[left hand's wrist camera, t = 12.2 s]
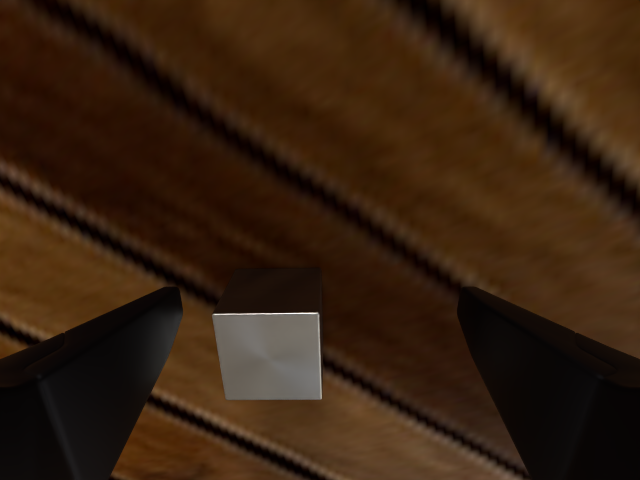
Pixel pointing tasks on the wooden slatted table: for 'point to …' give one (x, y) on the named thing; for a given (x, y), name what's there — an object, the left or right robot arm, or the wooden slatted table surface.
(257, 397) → the block
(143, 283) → the wooden slatted table surface
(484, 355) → the left robot arm
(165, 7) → the wooden slatted table surface
